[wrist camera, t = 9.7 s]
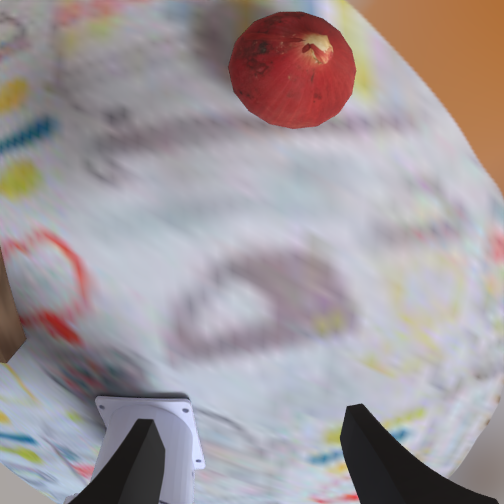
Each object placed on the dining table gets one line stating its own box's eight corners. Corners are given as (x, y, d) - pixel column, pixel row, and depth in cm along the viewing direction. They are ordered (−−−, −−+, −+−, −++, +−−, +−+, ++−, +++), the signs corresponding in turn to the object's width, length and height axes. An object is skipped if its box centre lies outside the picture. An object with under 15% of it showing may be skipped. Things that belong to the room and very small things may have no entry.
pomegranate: (218, 120, 17) (213, 95, 10) (240, 31, 16) (252, -39, 8) (317, 143, 18) (378, 139, 10) (335, 56, 16) (399, 9, 9)
